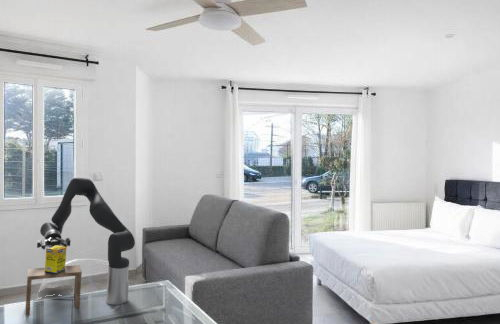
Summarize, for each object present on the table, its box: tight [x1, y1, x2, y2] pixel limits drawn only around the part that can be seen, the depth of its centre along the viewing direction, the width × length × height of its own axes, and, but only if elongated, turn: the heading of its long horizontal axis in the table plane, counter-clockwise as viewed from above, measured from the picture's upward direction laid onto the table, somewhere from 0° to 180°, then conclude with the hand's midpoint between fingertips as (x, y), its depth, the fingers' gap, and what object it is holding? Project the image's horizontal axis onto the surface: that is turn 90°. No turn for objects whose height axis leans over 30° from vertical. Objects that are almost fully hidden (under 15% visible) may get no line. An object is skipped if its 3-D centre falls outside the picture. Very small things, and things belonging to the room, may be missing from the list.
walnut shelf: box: [25, 264, 82, 316], centre depth 170 cm, size 21×10×16 cm, turn 120°
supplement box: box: [44, 245, 67, 274], centre depth 168 cm, size 6×6×11 cm
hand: (54, 246), depth 178 cm, fingers open, 8 cm apart
